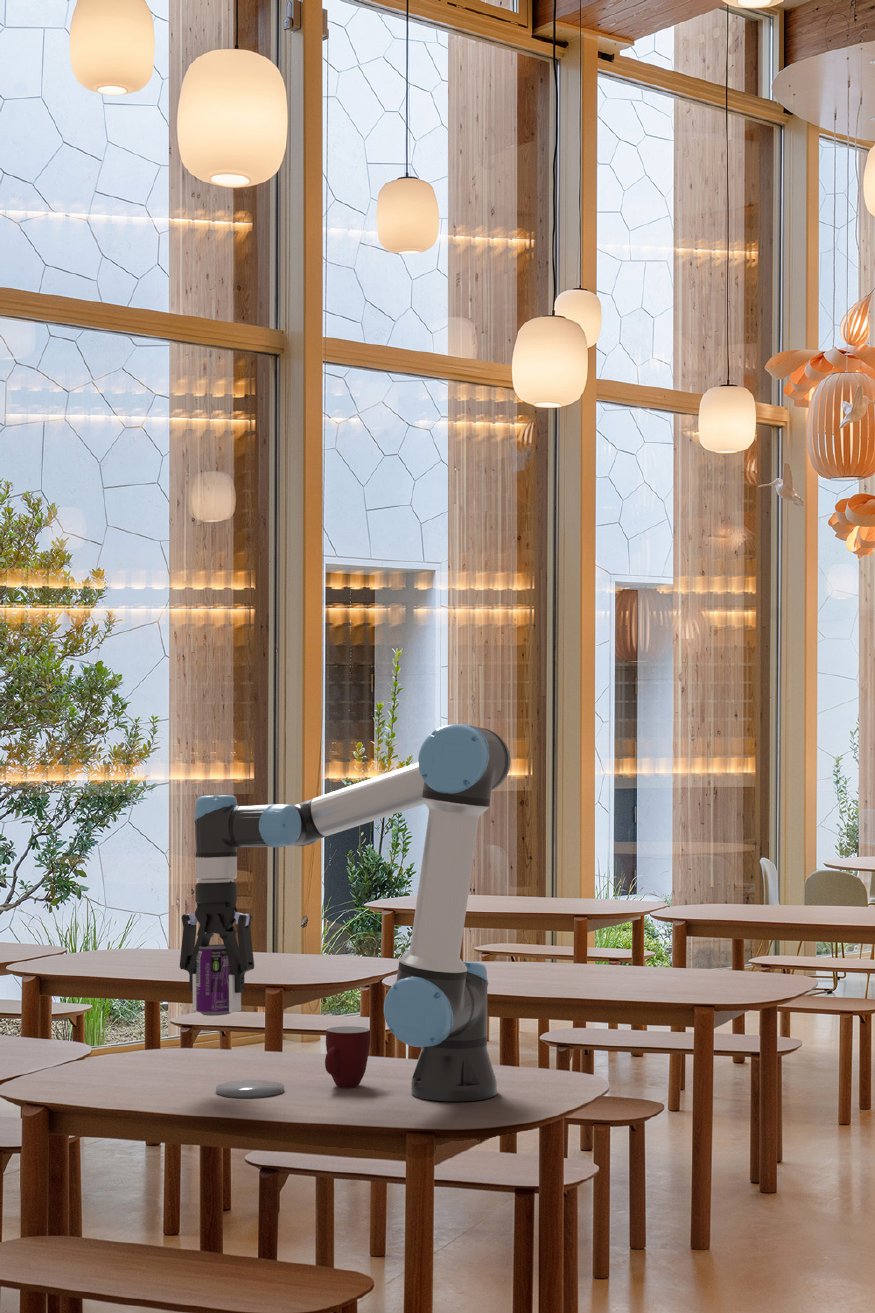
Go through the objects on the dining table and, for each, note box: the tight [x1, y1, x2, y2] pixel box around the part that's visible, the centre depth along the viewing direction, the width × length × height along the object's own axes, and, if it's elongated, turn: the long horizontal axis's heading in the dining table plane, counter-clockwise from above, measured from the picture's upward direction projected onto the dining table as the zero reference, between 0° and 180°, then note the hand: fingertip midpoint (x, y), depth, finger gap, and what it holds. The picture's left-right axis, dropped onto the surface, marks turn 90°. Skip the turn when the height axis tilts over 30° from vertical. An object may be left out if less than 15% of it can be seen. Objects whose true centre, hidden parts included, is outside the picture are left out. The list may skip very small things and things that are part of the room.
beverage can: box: [196, 943, 233, 1017], centre depth 250 cm, size 7×7×12 cm
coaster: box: [215, 1079, 285, 1099], centre depth 248 cm, size 12×12×1 cm
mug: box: [324, 1025, 371, 1089], centre depth 252 cm, size 11×8×10 cm
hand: (216, 1010), depth 250 cm, fingers closed on beverage can, 7 cm apart
